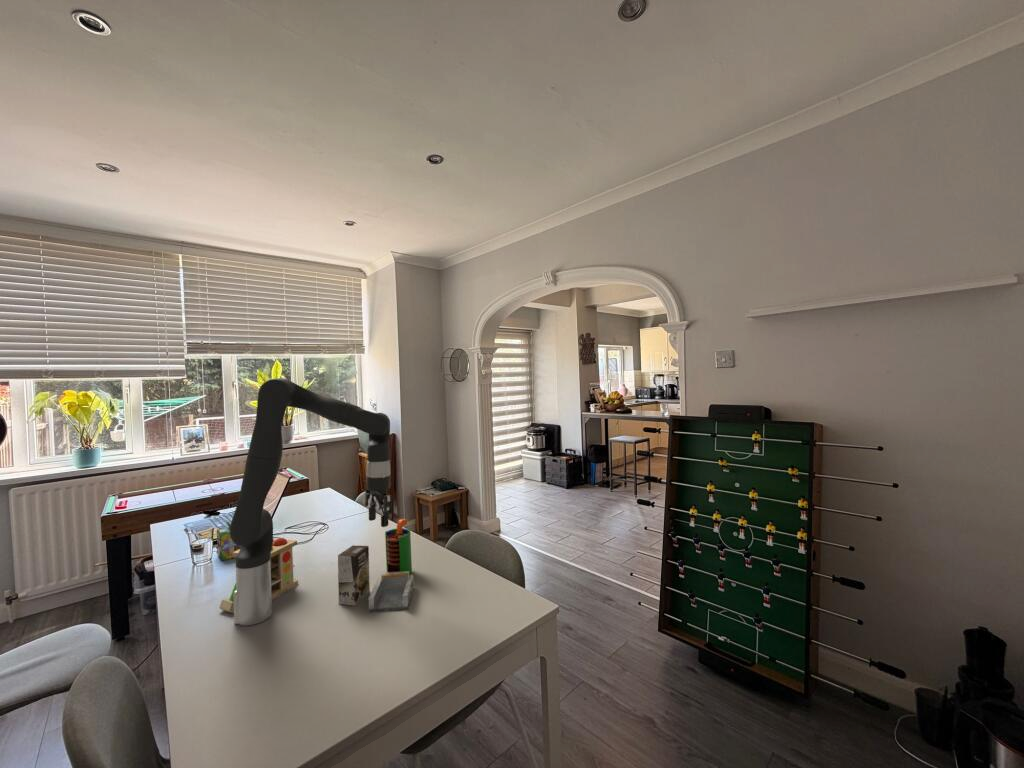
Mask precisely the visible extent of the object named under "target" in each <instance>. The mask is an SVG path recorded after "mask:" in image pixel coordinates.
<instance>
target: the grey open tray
mask: <svg viewBox="0 0 1024 768" xmlns="http://www.w3.org/2000/svg"><path fill="white" fill-rule="evenodd" d="M414 583H415V580H414V575H413V574H411V575H409V571H403V572H388V573H387V572H382V573H381V577H377V580H376V582H375V584H374V586H373V587H372V590H371V592H370V595H368V613H378V612H391V611H403V610H404V611H405V610H409V607H410V603H411V599H412V596H413V592H414V588H415V586H414V585H415V584H414Z"/></svg>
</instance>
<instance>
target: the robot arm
mask: <svg viewBox="0 0 1024 768" xmlns="http://www.w3.org/2000/svg"><path fill="white" fill-rule="evenodd" d="M256 404H257V405H256V414H255V415H256V416H255V423H254V427H253V430H252V435H251V439H250V444H249V446H248V447H249V448H248V451H247V455H246V462H245V464H244V472H243V477H242V480H241V481H242V482H241V487H240V492H239V497H238V500H237V503H236V507H235V511H234V513H233V517H232V519H231V522H230V537H231V539H232V541H233V542H234V543H235V544H236V545H239V546H241V549H240V551H239V553H238V555H237V556H236V557H235V583H236V591H235V592H234V593H233V600H234V613H233V624H234V625H236V624H237V625H240V626H243V627H244V626H247V627H248V626H252V625H253V626H254V625H256V624H260V623H263V622H264V621H266V620H267V619H269V618H270V617H271V616H272V614H273V605H272V604H273V601H272V593H271V562H270V554H271V551H272V547H273V538H274V521H273V517H272V515H271V513H270V512H269V511H268V510H267V509H265V508H264V505H265V501H266V499H267V496H268V494H269V492H270V490H271V488H272V486H273V484H274V483H275V481H276V479H277V476H278V474H279V470H280V468H281V461H282V457H283V452H284V451H283V450H284V447H283V445H284V444H283V443H284V442H283V431H282V430H283V429H282V427H283V423H284V422H283V421H284V418H285V414H286V410H287V407H288V408H289V407H290V408H296V409H300V410H304V411H307V412H311V413H313V414H315V415H316V416H317V415H318V416H320V417H321V418H324V419H326V420H328V421H331V422H334V423H337V424H340V425H343V426H347V427H350V428H354V429H356V430H358V431H361V432H363V433H366V434H368V443H367V450H366V452H367V455H366V459H367V461H366V470H365V471H366V473H365V474H366V484H365V485H366V487H365V493H364V495H365V496H364V499H365V500H364V505H365V507H366V508H367V510H368V520H369V521H370V522H371V521H375V520H376V519H377V513H376V512H377V510H379V512H380V527H382V528H386V527H388V526H389V515H390V514H393V495H392V494H388V492H387V490H388V489H390V488H391V460H390V454H391V453H390V434H391V421H390V420H391V419H390V418H389V416H388V415H387V414H386V413H383V412H373V411H369V410H366V409H363V408H362V407H360V406H358V405H355V404H352V403H349V402H346V401H344V400H340V399H336V398H333V397H330V396H326V395H323V394H319V393H316V392H315V391H314V392H313V391H312V390H309V389H308V388H305V387H303V386H301V385H299V384H297V383H294V382H293V381H290V380H289V379H287V378H284V377H283V378H282V377H277V378H269V379H267V380H266V381H264V382H263V383H262V384H261V385H260V387H259V389H258V393H257V403H256ZM376 507H377V509H376Z"/></svg>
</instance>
